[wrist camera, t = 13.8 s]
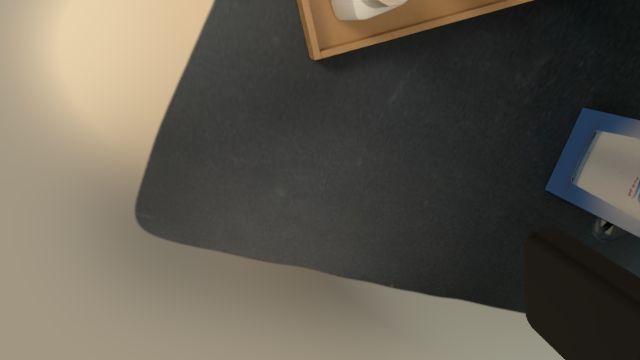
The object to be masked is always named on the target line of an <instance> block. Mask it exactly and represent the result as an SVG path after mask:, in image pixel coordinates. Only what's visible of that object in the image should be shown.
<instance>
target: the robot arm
mask: <svg viewBox="0 0 640 360" xmlns="http://www.w3.org/2000/svg"><path fill="white" fill-rule="evenodd" d="M524 262H525V301H526V317H527V320H528V322H529V324H530V325H531V327H532V328H533V329H534V330H535V331H536V332H537V333H538V334H539V335H540V336H541V337H542V338H543V339H545V341H547V343H549V344H550V345H551V346H552V347H553V348H554V349H555V350H556V351H557V352H558V353H559V354H560V355H561V356H562V357H563V358H564V359H565V360H640V278H639V277H638V276H636V275H634V274H633V273H631V272H629V271H628V270H626V269H624V268H623V267H621V266H619V265H618V264H616V263H614V262H613V261H611V260H609V259H608V258H606V257H604V256H603V255H601V254H600V253H598V252H596V251H595V250H593V249H591V248H590V247H588V246H586V245H585V244H583V243H581V242H580V241H578V240H576V239H575V238H573V237H571V236H570V235H568V234H566V233H565V232H563V231H561V230H560V229H558V228H557V227H554V226H547V227H544V228H541V229H538V230H536V231H533V232H531V233H529V235H528V239H527V240H525V242H524Z"/></svg>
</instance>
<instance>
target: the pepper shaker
mask: <svg viewBox="0 0 640 360" xmlns="http://www.w3.org/2000/svg"><path fill="white" fill-rule="evenodd" d="M330 1H331V4H332V7H333V11H334V14H335V16H336V17H337V19H338V20H366V19H369V18H371V17H374V16H377V15H379V14H382V13H384V12H387V11H389V10H391V9H394V8H396V7H398V6H401V5H402V4H404V3H405V2H406V1H408V0H330Z"/></svg>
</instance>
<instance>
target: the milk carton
mask: <svg viewBox="0 0 640 360" xmlns="http://www.w3.org/2000/svg"><path fill="white" fill-rule="evenodd" d="M545 190H547V191H549V192H551V193H553V194H555V195H557V196H559V197H561V198H563V199H565V200H567V201H569V202H571V203H573V204H575V205H577V206H579V207H581V208H583V209H585V210H586V211H588V212H590V213H592V214H594V215H596V216H598V217H600V218H602V219H604V220H606V221H608V222H610V223H612V224H614V225H616V226H618V227H620V228H622V229H624V230H626V231H628V232H630V233H632V234H634V235H636V236H638V237H640V121H639V120H635V119H631V118H626V117H622V116H618V115H613V114H609V113H605V112H600V111H596V110H591V109H587V108H582V111H581V113H580V115H579V117H578V119H577V121H576V123H575V126H574V128H573V130H572V132H571V134H570V136H569V138H568V141H567V143H566V145H565V147H564V149H563V151H562V153H561V156H560V158H559V160H558V162H557V164H556V166H555V169H554V171H553V173H552V175H551V177H550V179H549V181H548V184H547V186H546V188H545Z"/></svg>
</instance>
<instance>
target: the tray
mask: <svg viewBox="0 0 640 360" xmlns="http://www.w3.org/2000/svg"><path fill="white" fill-rule="evenodd" d="M296 1H297V5H298V9H299V13H300V18H301V22H302V26H303V30H304V35H305V39H306V43H307V47H308V52H309V56H310V59H313V60H315V61H316V60H319V59H321V58H322V59H323V58H326V57H330V56H334V55H337V54H341V53H345V52H348V51H352V50H355V49H359V48H363V47H366V46H370V45H373V44H377V43H381V42H384V41H388V40H392V39H395V38H399V37H402V36H406V35H410V34H413V33H417V32H421V31H424V30H428V29H431V28H435V27H439V26H442V25H446V24H449V23H453V22H457V21H460V20H464V19H468V18H471V17H475V16H478V15H482V14H486V13H489V12H493V11H497V10H500V9H504V8H507V7H511V6H515V5H518V4H522V3H525V2H529V1H533V0H408V1H406V2H405V3H404V4H402V5H401V6H398V7H396V8H394V9H391V10H389V11H387V12H384V13H382V14H379V15H377V16H374V17H371V18H369V19H366V20H338V19H337V17H336V16H335V14H334V11H333V7H332V4H331V1H330V0H296Z"/></svg>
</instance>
